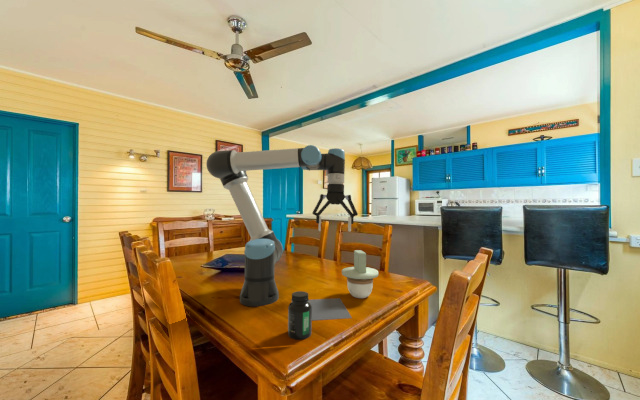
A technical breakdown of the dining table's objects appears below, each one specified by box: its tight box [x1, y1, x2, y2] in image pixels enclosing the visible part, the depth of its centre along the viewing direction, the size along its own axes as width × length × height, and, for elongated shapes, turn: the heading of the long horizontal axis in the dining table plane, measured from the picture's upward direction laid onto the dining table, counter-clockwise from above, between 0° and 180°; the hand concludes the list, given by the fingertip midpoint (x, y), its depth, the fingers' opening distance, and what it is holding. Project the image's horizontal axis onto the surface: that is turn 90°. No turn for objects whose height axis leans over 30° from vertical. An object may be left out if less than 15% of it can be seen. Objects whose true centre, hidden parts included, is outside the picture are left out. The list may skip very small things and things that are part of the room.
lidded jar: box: [346, 277, 374, 299], centre depth 107 cm, size 11×11×9 cm
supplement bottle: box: [287, 290, 313, 341], centre depth 76 cm, size 7×7×12 cm
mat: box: [308, 297, 353, 321], centre depth 94 cm, size 18×18×1 cm
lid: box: [341, 249, 379, 279], centre depth 107 cm, size 15×15×9 cm
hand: (334, 231), depth 115 cm, fingers open, 13 cm apart
